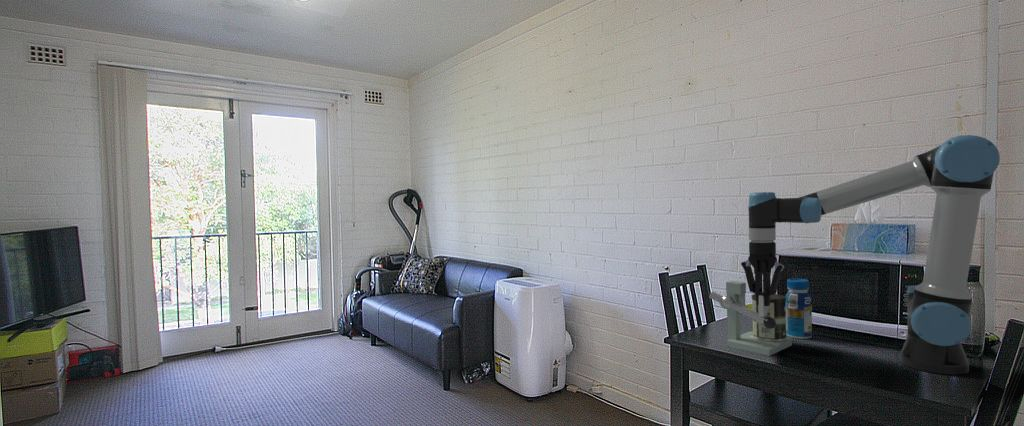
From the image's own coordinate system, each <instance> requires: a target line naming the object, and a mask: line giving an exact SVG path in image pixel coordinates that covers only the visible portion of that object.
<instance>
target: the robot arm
mask: <svg viewBox="0 0 1024 426" xmlns="http://www.w3.org/2000/svg"><path fill="white" fill-rule="evenodd" d="M997 147H998V146H996V145H995V144H994V143H993V142H992V141H991V140H989V139H987V138H985V137H984V136H983V137H982V136H980V135H974V134H973V135H972V134H964V135H963V134H962V135H957V136H954V137H951V138H949V139H947V140H946V141H944V142H943V143H942V144H940V145H938V146H937V147H934V148H933V149H931V150H928V151H924V152H922V153H921V154H917V155H915V156H913V159H911V160H910V161H907V162H904V163H901V164H897V165H895V166H891V167H888V168H886V169H882V170H880V171H877V172H873V173H870V174H867V175H864V176H860V177H858V178H855V179H852V180H849V181H846V182H842V183H839V184H836V185H833V186H831V187H828V188H825V189H822V190H817V191H816V192H812V193H808V194H806V195H803V196H798V197H788V198H787V197H785V198H781V197H777V196H776V193H775V192H774V191H764V192H763V191H762V192H761V191H759V192H758V191H757V192H751V193H750V194H749V195H748V206H747V209H748V240H749V243H748V251H749V256H748V258H747V260H745V261H741V262H740V265H741V266H742V268H743V270H744V274H745V277H746V282H747V285H748V290H749V292H750V293H753V294H756V304H757V305H759V316H761V317H764V316H767V306H769V305H770V295H773V294H778V288H779V285H780V280H781V277H782V272H783V271H784V270H785V269H786V265H785V264H782V263H780V262H779V261H778V258H777V257H776V255H777V254H776V253H777V243H776V242H775V241H776V239H777V238H776V227H777V226H776V224H777V223H780V224H781V223H789V224H790V223H791V224H792V223H796V224H798V223H799V224H800V223H802V224H810V223H813V224H815V223H816V224H817V223H820V221H821V220H822V216H824V215H827V214H830V213H834V212H838V211H840V210H845V209H847V208H851V207H854V206H858V205H861V204H864V203H869V202H871V201H875V200H878V199H881V198H885V197H888V196H891V195H895V194H898V193H901V192H905V191H909V190H912V189H915V188H919V187H922V186H924V187H927V188H930V189H932V190H933V192H935V194H936V196H935V203H934V209H933V215H932V222H931V228H930V229H931V230H930V234H929V235H930V236H929V240H928V241H929V242H928V247H927V253H926V254H927V255H926V260H925V266H924V271H923V272H924V273H923V280H922V282H921V283H920V284H918V285H913V284H912V285H909V286H908V287H907V292H906V298H907V305H906V306H907V309H906V310H907V313H906V314H907V337H906V339H905V341H904V343H903V346H902V348H901V351H900V352H899V359H900V362H901V363H902V364H903V365H905V366H906V367H909V368H913V369H914V370H919V371H923V372H928V373H934V374H940V375H941V374H942V375H952V376H953V375H955V376H956V375H957V376H958V375H965V374H968V373H969V372H970V362H969V360H968V357H967V355H966V352H965V350H964V347H963V345H962V342H964V341H965V340H966V339H967V338H968V336H970V333H971V331H972V321H971V318H970V315H971V309H972V303H973V296H972V294H970V293H969V292H968V291H967V284H968V278H969V271H970V265H971V260H972V255H973V254H972V253H973V248H974V243H975V242H974V241H975V236H976V230H977V223H978V218H979V211H980V206H981V202H982V201H981V200H982V197H983V196H984V195H986V194H988V193H989V192H991V191H992V184H993V180H994V174H995V171H996V170H997V168H998V166H999V165H1000V161H1001V160H1000V159H1001V158H1000V155H1001V154H1000V151H999V150H998V148H997ZM751 266H752V267H751ZM752 268H753V269H752ZM773 268H774V272H773V275H772V270H773ZM771 275H772V277H771ZM771 278H772V279H771Z"/></svg>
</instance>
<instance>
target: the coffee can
mask: <svg viewBox="0 0 1024 426" xmlns="http://www.w3.org/2000/svg"><path fill="white" fill-rule="evenodd" d="M785 296H786V295H782V294H778V293H776V294H773V295H770V305H769V306H767V316H765V317H772V318H773V319H774V320H775V321H776V326H775V327H774V328H772V329H768V328H766V327H765V326H764V324H762V323H760V322H758V321H756V320H754V319H752V332H753V337H754V338H756V339H759V340H763V341H772V342H778V341H784V340H786V339H787V338H786V336H787V335H786V297H785ZM751 301H752V302H751V303H752V306H751V307H752V309H751V310H753V311H755V312H757V313H759V305H757V304H756V294H755V293H753V294H751Z"/></svg>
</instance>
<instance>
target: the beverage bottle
mask: <svg viewBox="0 0 1024 426" xmlns="http://www.w3.org/2000/svg"><path fill="white" fill-rule="evenodd" d="M786 288H787V290H788V291H787V292H786V294H785V295H784V296H785V297H786V336H787V337H792V339H793V338H794V339H799V340H801V339H802V340H804V339H806V340H807V339H810V338H812V336H813V326H812V325H813V324H812V322H813V317H812V316H813V314H812V313H813V305H812V304H811V303H812V296H811V294H810V293H809V292H808V291H809V290H810V281H809V280H808V279H806V278H795V277H794V278H788V279H787V280H786Z"/></svg>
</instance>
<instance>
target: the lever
mask: <svg viewBox="0 0 1024 426" xmlns="http://www.w3.org/2000/svg"><path fill="white" fill-rule="evenodd" d="M708 295H709V296H708V298H709V299H711V300H713V301H715V302H717V303H719V305H720V307H722V309H724V310H725V309H726V310H727V309H729V308H731V309H733V310H736V311H738V312H740V314H741V315H743V316H746V317H748V318H750V319H752V320H753V319H754V320H756V321H758V322H760V323H762V324H764V326H765V327H766V328H768V329H772V328H774V327H775V326H776V321H775V320H774V319H773V318H772V317H765V316H764V317H761V316H759V313H757V312H755V311H753V310H752V309H750V308H748V307H747V306H742V305H740V304H738V303H736V302H735V301H734V299H733V298H732V297H731V296H727V295H726V296H723V295H721V294H718V293H717V292H715V291H712V292H709V294H708Z"/></svg>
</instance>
